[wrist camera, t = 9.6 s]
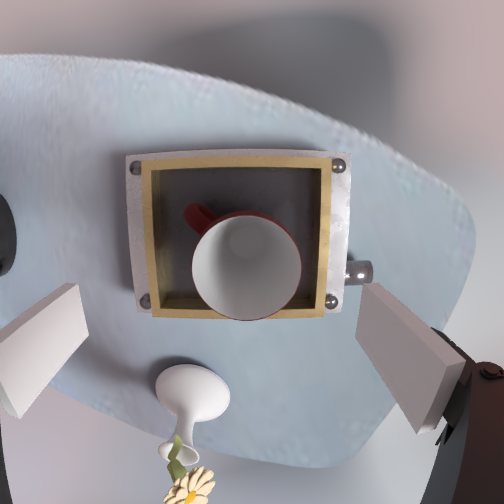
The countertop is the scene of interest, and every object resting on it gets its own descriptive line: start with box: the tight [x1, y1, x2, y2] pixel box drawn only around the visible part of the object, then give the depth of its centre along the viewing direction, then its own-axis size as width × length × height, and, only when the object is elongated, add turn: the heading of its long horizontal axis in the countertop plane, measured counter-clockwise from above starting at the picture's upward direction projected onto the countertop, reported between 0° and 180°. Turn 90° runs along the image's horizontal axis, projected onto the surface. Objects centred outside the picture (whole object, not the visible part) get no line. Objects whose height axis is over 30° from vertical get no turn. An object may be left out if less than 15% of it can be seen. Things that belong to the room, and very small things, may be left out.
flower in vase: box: [155, 364, 230, 504], centre depth 29 cm, size 13×11×25 cm
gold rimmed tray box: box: [126, 149, 373, 319], centre depth 32 cm, size 28×18×8 cm, turn 90°
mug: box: [183, 202, 302, 321], centre depth 26 cm, size 11×8×10 cm
